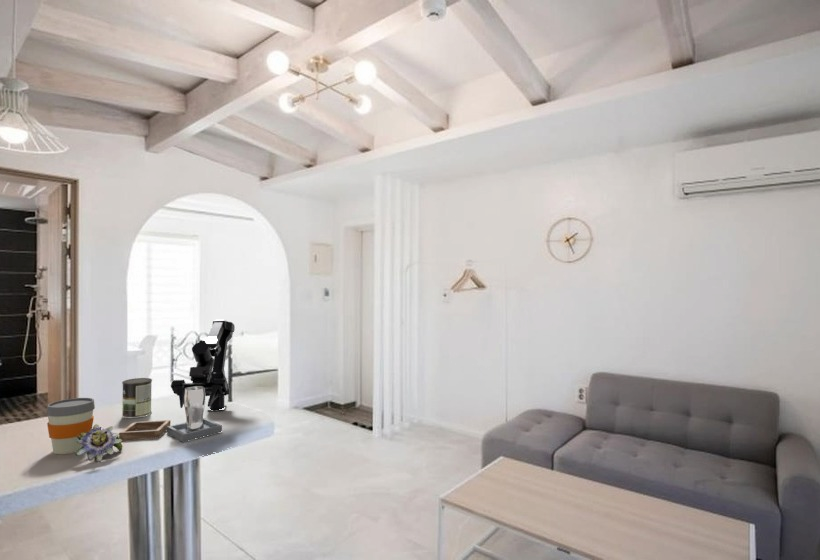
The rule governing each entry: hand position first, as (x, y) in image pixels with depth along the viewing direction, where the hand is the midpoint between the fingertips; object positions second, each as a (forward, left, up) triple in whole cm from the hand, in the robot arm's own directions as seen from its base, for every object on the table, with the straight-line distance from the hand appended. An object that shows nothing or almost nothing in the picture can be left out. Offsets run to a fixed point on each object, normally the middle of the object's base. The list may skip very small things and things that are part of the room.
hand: (194, 406), depth 161 cm
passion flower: (+18, -23, -10) cm, 31 cm away
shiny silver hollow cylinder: (-1, 0, -9) cm, 9 cm away
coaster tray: (0, 0, -9) cm, 9 cm away
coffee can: (-28, -29, -10) cm, 41 cm away
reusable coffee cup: (+9, -35, -10) cm, 37 cm away
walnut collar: (-3, -17, -9) cm, 20 cm away
